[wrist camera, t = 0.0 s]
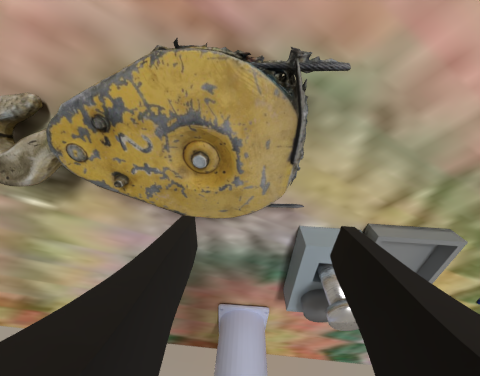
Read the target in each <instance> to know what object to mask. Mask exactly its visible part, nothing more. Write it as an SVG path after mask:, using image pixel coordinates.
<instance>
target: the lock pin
mask: <svg viewBox="0 0 480 376" xmlns="http://www.w3.org/2000/svg"><path fill="white" fill-rule="evenodd" d="M317 272H318V274H319V277H320V280H321V283H322V286H323V289H324V291H325V294H326V297H327V300H328V303H329V305H330V306H329V307H328V308H327V309H326V312H325V313H326V317H327V320H328V323H329V325H330V326H331V327H332V328H334V329H337V330H342V331H350V330H356V329H359V328H358V325H357V323H356V321H355V319H354V316H353V314H352V312H351V310H350V307H349V305H348V303H347V301H346V298H345V296H344V294H343V292H342V289H341V287H340V285H339V282H338V280H337V278H336V275H335V272H334V269H333V265H332V264H328V263H319V264H318V267H317Z"/></svg>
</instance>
